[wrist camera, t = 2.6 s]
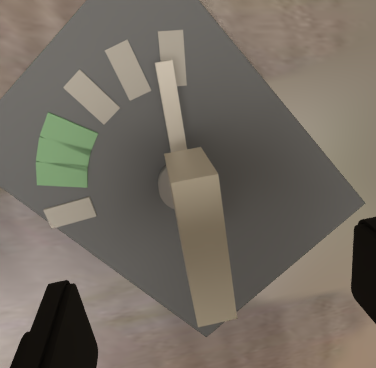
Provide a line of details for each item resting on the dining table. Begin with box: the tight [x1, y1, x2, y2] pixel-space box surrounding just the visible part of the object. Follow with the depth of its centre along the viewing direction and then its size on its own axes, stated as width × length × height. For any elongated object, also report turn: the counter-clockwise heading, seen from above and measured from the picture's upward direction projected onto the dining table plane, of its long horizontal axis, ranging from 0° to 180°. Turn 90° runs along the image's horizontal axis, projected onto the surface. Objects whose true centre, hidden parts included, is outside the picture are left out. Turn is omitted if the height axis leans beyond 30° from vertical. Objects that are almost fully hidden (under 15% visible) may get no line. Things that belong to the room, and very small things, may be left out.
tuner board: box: [0, 0, 365, 337], centre depth 23 cm, size 22×16×1 cm
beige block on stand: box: [155, 60, 237, 327], centre depth 17 cm, size 11×3×9 cm, turn 9°
